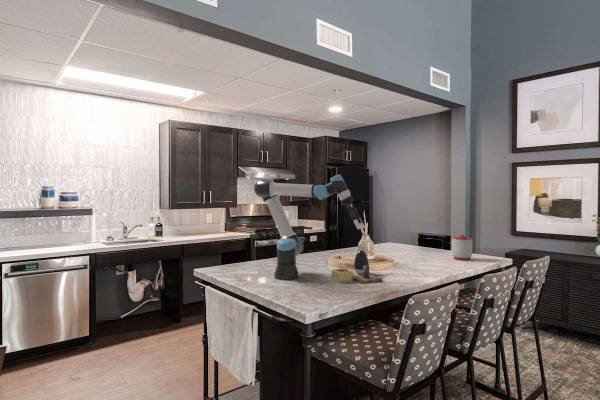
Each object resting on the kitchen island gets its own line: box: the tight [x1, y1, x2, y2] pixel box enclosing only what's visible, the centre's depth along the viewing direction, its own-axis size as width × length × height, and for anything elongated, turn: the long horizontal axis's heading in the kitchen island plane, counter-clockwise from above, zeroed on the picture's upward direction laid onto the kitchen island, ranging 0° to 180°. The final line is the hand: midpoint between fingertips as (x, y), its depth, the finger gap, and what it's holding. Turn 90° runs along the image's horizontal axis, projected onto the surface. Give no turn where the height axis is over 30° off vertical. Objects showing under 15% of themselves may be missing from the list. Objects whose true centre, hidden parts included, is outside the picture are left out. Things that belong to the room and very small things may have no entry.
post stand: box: [353, 265, 384, 285], centre depth 219 cm, size 14×14×8 cm
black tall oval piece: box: [352, 249, 370, 275], centre depth 237 cm, size 10×10×15 cm
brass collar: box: [331, 268, 354, 284], centre depth 218 cm, size 10×10×6 cm
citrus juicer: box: [449, 234, 474, 261], centre depth 290 cm, size 16×17×20 cm
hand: (361, 228), depth 227 cm, fingers open, 13 cm apart
